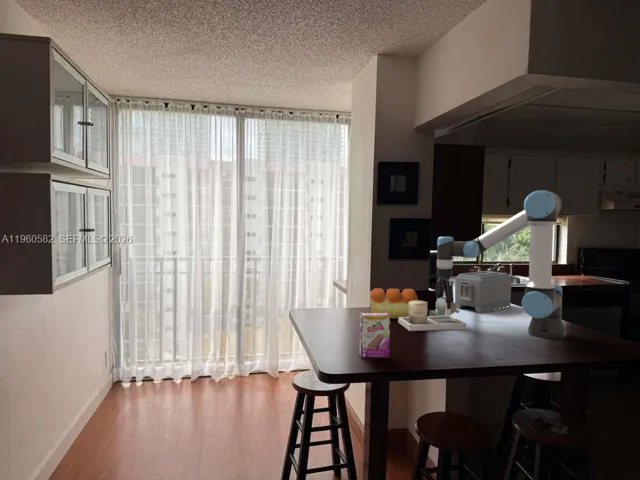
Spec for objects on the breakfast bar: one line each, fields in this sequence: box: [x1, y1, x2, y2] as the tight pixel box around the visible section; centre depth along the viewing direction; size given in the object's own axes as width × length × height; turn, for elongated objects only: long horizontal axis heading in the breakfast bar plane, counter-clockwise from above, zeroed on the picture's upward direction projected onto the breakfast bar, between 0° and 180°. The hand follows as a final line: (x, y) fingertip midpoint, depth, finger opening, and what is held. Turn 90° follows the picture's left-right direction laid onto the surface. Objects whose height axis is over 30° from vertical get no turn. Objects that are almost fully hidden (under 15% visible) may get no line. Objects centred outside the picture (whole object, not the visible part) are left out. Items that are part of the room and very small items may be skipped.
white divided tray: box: [397, 315, 467, 332], centre depth 214 cm, size 17×28×3 cm, turn 98°
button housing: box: [428, 309, 451, 316], centre depth 229 cm, size 8×8×4 cm
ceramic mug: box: [435, 296, 460, 315], centre depth 215 cm, size 11×8×8 cm
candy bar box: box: [359, 312, 391, 359], centre depth 166 cm, size 11×5×16 cm, turn 92°
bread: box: [370, 287, 419, 319], centre depth 236 cm, size 25×12×15 cm, turn 84°
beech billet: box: [409, 300, 428, 325], centre depth 213 cm, size 9×9×10 cm
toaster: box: [454, 270, 512, 314], centre depth 256 cm, size 19×33×20 cm, turn 125°
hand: (443, 313), depth 215 cm, fingers closed on ceramic mug, 8 cm apart
